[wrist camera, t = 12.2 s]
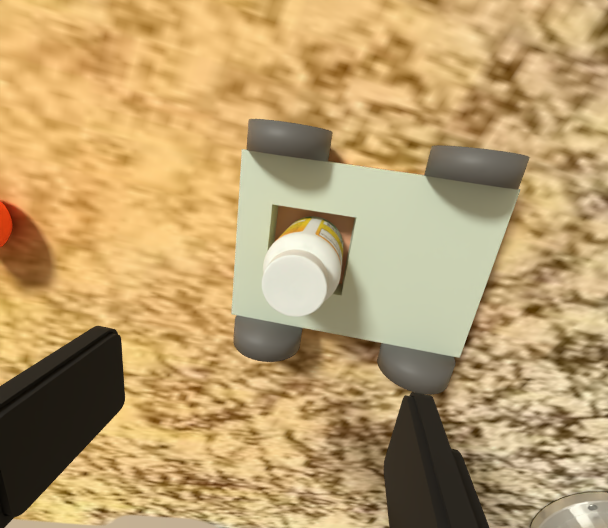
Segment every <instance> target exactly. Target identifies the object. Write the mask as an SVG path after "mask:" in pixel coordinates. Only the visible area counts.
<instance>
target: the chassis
mask: <svg viewBox="0 0 608 528" xmlns="http://www.w3.org/2000/svg"><path fill="white" fill-rule="evenodd" d="M331 139H332V132H331V131H329V130H325V129H321V128H317V127H312V126H307V125H301V124H295V123H289V122H282V121H274V120H264V119H249V123H248V137H247V150H244V149H242V158H241V173H240V189H239V205H238V220H237V236H236V252H235V267H234V283H233V299H232V314H233V315H237V316H236V318H235V327H234V345H235V347H236V349H237V350H238V351H239V352H240V353H241V354H243V355H244V356H246V357H248V358H251V359H254V360H258V361H264V362H275V361H281V360H285V359H288V358H290V357H292V356H293V355H294V354H296V352H297V351H298V350H299V347H300V341H301V335H302V328H306V329H312V330H317V331H322V332H327V333H333V334H338V335H343V336H348V337H354V338H359V339H364V340H369V341H374V342H380V343H381V347H380V350H379V354H378V359H377V363H378V366H379V368H380V370H381V371H382V373H383V374H384V375H385V376H386V377H387V378H388V379H390V380H391V381H392V382H394V383H395V384H397V385H398V386H400V387H402V388H404V389H407V390H409V391H412V392H416V393H421V394H438V393H441V392H443V391H444V390H445V389H446V388H447V386H448V383H449V381H450V378H451V375H452V372H453V369H454V367H455V359H454V357H458V358H460V355H461V353H462V350H463V347H464V344H465V342H466V339H467V336H468V333H469V330H470V328H471V325H472V322H473V319H474V317H475V314H476V311H477V308H478V306H479V303H480V300H481V297H482V295H483V292H484V289H485V286H486V283H487V281H488V278H489V275H490V272H491V270H492V267H493V264H494V261H495V259H496V256H497V253H498V250H499V248H500V245H501V242H502V239H503V236H504V234H505V231H506V228H507V225H508V223H509V220H510V217H511V214H512V212H513V209H514V206H515V203H516V201H517V198H518V195H519V192H520V189H519V186H520V183H521V180H522V177H523V175H524V172H525V169H526V166H527V163H528V161H529V158H530V157H528V156H525V155H521V154H516V153H510V152H503V151H496V150H488V149H479V148H469V147H457V146H432V147H431V151H430V155H429V159H428V163H427V167H426V171H425V175H419V174H413V173H406V172H399V171H392V170H385V169H378V168H371V167H364V166H357V165H350V164H343V163H336V162H329V161H328V159H329V152H330V146H331ZM309 216H316V217H321V218H324V219H326V220H328V221H330V222H331V223H332V224H333V225H334V226H335V227H336V228H337V229H338V231H339V232H340V234H341V236H342V240H343V258H342V268H341V277H340V281H339V284H338V286H337V288H336V290H335V291H334V293H333V294H332V295H331V296H330V297H329V298H328V299H327V300H325V301H324V302H323V304H322V305H321V306H320V307H319V308H318V309H317V310H316V311H315V312H313V313H311V314H309V315H306V316H302V317H291V316H287V315H284V314H281V313H279V312H278V311H276V310H275V309H273V308H272V307H271V306H270V305H269V303H268V302H267V301H266V299H265V297H264V294H263V291H262V277H263V263H264V259H265V256H266V253H267V251H268V250H269V248H270V247H271V245H272V244H273V243H274V242H275V241H276V240H277V239H278V238H279V237H280V236H281V235H282V234H283V233H284V232H285V231H286V230H287V229H288V228H289V227H290V226H291V225H292V224H293V223H294V222H296V221H297V220H299V219H301V218H304V217H309Z"/></svg>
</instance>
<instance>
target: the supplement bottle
mask: <svg viewBox="0 0 608 528" xmlns="http://www.w3.org/2000/svg"><path fill="white" fill-rule="evenodd" d="M342 258H343V240H342V236H341V234H340V232H339V231H338V229H337V228H336V227H335V226H334V225H333V224H332V223H331V222H330V221H328V220H326V219H324V218H321V217H316V216H309V217H304V218H301V219H299V220H297V221H296V222H294V223H293V224H292V225H291V226H290V227H289V228H288V229H287V230H286V231H285V232H284V233H283V234H282V235H281V236H280V237H279V238H278V239H277V240H276V241H275V242H274V243H273V244H272V245H271V247H270V248H269V250H268V251H267V253H266V256H265V259H264V263H263V277H262V291H263V294H264V297H265V299H266V301H267V302H268V303H269V305H270V306H271V307H272V308H273V309H275V310H276V311H278V312H279V313H281V314H284V315H287V316H291V317H302V316H306V315H309V314H311V313H313V312H315V311H316V310H317V309H318V308H319V307H320V306H321V305H322V304H323V302H324V301H325V300H327V299H328V298H329V297H330V296H331V295H332V294H333V293H334V291H335V290H336V288H337V286H338V284H339V281H340V277H341V268H342Z"/></svg>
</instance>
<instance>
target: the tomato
mask: <svg viewBox="0 0 608 528" xmlns="http://www.w3.org/2000/svg"><path fill="white" fill-rule="evenodd" d="M11 231H12V220H11V216H10V214H9V212H8V210H7V208H6V207H5V205H4V204H3V203H2V202H1V201H0V247H2V246H3V245H4V244H5V243H6V242H7V240H8V238H9V236H10V234H11Z"/></svg>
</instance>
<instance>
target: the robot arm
mask: <svg viewBox="0 0 608 528" xmlns="http://www.w3.org/2000/svg"><path fill="white" fill-rule="evenodd" d="M124 401H125V391H124V376H123V361H122V345H121V337H120V335H118V333H117V331H116V330H115V329H111V328H107V327H102V326H95V327H93V328H91V329H90V330H88V331H87V332H85V333H84V334H82V335H80V336H79V337H77V338H76V339H74V340H73V341H71V342H69V343H68V344H66V345H65V346H63V347H61V348H60V349H58V350H57V351H55V352H54V353H52V354H50V355H49V356H47V357H46V358H44V359H42V360H41V361H39V362H38V363H36V364H35V365H33V366H31V367H30V368H28V369H27V370H25V371H23V372H22V373H20V374H19V375H17V376H16V377H14V378H12V379H11V380H9V381H8V382H6V383H4V384H3V385H1V386H0V528H4V527H5V526H6V525H7V524H8V523H9V522H10V521H11V520H12V519H13V518H14V517H17V516H19V515H21V514H22V513H24V512H25V511H26V510H27V509H28V508H29V507H30V506H31V505H32V504H33V502H34V501H35V500H36V499H37V498H38V497H39V496H40V495H41V494H42V493H43V492H44V491H45V490H46V489H47V488H48V486H49V485H50V484H51V483H52V482H53V481H54V480H55V479H56V478H57V477H58V476H59V475H60V474H61V473H62V472H63V471H64V469H65V468H66V467H67V466H68V465H69V464H70V463H71V462H72V461H73V460H74V459H75V458H76V457H77V456H78V455H79V453H80V452H81V451H82V450H83V449H84V448H85V447H86V446H87V445H88V444H89V443H90V442H91V441H92V440H93V439H94V438H95V436H96V435H97V434H98V433H99V432H100V431H101V430H102V429H103V428H104V427H105V426H106V425H107V424H108V423H109V422H110V421H111V419H112V418H113V417H114V416H115V415H116V414H117V413H118V412H119V411H120V410H121V408H122V407H123V404H124ZM384 479H385V488H386V498H387V507H388V517H389V526H390V528H489V525H488V523H487V520H486V518H485V515H484V512H483V510H482V507H481V504H480V502H479V499H478V496H477V494H476V491H475V489H474V486H473V483H472V481H471V478H470V475H469V473H468V470H467V467H466V465H465V462H464V460H463V457H462V455H461V453H460V452H459V451H458V450H454V449H451V448H450V445H449V442H448V439H447V436H446V433H445V430H444V428H443V425H442V422H441V419H440V416H439V413H438V410H437V408H436V405H435V402H434V399H433V397H432V396H430V395H425V394H421V393H416V392H412V393H411V394H410V396H406V395H405V396H404V398H403V400H402V404H401V407H400V410H399V414H398V417H397V420H396V424H395V427H394V430H393V434H392V437H391V440H390V444H389V447H388V450H387V454H386V457H385V461H384ZM531 528H608V493H607V492H587V493H581V494H575V495H571V496H568V497H564V498H562V499H559V500H557V501H555V502H553V503H551V504H550V505H548V506H547V507H545V508H544V509H543V510H542V511H541V512H539V513H538V514H537V516H536V517H535V519H534V520H533V522H532V525H531Z"/></svg>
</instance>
